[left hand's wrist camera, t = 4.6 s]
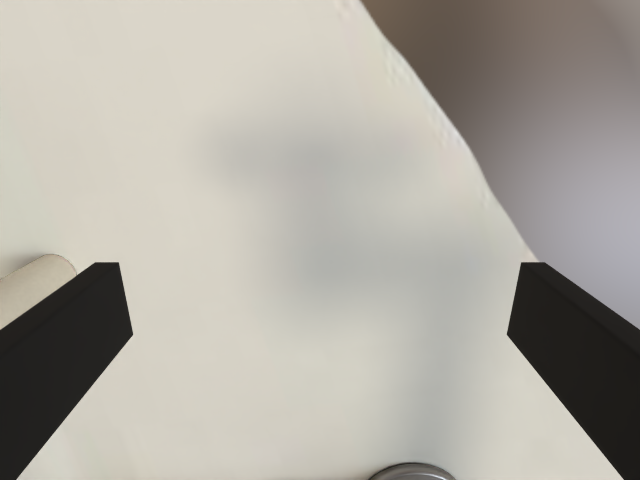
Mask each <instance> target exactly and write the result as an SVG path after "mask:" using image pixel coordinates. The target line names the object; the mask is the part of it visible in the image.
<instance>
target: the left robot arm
mask: <svg viewBox="0 0 640 480" xmlns="http://www.w3.org/2000/svg"><path fill="white" fill-rule="evenodd" d="M132 335H133V331H132V326H131V321H130V316H129V311H128V306H127V301H126V296H125V291H124V286H123V281H122V276H121V271H120V266H119V262H95V263H94V264H92V265H91V266H90V267H88V268H87V269H85V270H84V271H82V272H81V273H80V274H78V275H77V276H75V277H74V278H73V279H71V280H70V281H68V282H67V283H66V284H64V285H63V286H61V287H60V288H58V289H57V290H56V291H54V292H53V293H51V294H50V295H49V296H47V297H46V298H44V299H43V300H42V301H40V302H39V303H37V304H36V305H35V306H33V307H32V308H30V309H29V310H27V311H26V312H25V313H23V314H22V315H20V316H19V317H18V318H16V319H15V320H13V321H12V322H11V323H9V324H8V325H6V326H5V327H3V328H2V329H1V330H0V480H16V479H17V478H18V477H19V475H20V474H21V473H22V472H23V470H24V469H25V468H26V467H27V465H28V464H29V463H30V462H31V461H32V459H33V458H34V457H35V456H36V454H37V453H38V452H39V451H40V449H41V448H42V447H43V446H44V444H45V443H46V442H47V441H48V439H49V438H50V437H51V436H52V435H53V433H54V432H55V431H56V430H57V428H58V427H59V426H60V425H61V423H62V422H63V421H64V420H65V418H66V417H67V416H68V415H69V413H70V412H71V411H72V410H73V408H74V407H75V406H76V405H77V404H78V402H79V401H80V400H81V399H82V397H83V396H84V395H85V394H86V392H87V391H88V390H89V389H90V387H91V386H92V385H93V384H94V382H95V381H96V380H97V379H98V378H99V376H100V375H101V374H102V373H103V371H104V370H105V369H106V368H107V366H108V365H109V364H110V363H111V361H112V360H113V359H114V358H115V356H116V355H117V354H118V353H119V351H120V350H121V349H122V348H123V347H124V345H125V344H126V343H127V342H128V340H129V339H130V338H131V337H132ZM507 335H508V337H509V338H510V339H511V340H512V342H513V343H514V344H515V345H516V347H517V348H518V349H519V350H520V351H521V353H522V354H523V355H524V356H525V358H526V359H527V360H528V361H529V363H530V364H531V365H532V366H533V368H534V369H535V370H536V371H537V373H538V374H539V375H540V376H541V378H542V379H543V380H544V381H545V382H546V384H547V385H548V386H549V387H550V389H551V390H552V391H553V392H554V394H555V395H556V396H557V397H558V399H559V400H560V401H561V402H562V404H563V405H564V406H565V407H566V408H567V410H568V411H569V412H570V413H571V415H572V416H573V417H574V418H575V420H576V421H577V422H578V423H579V425H580V426H581V427H582V428H583V430H584V431H585V432H586V433H587V435H588V436H589V437H590V438H591V439H592V441H593V442H594V443H595V444H596V446H597V447H598V448H599V449H600V451H601V452H602V453H603V454H604V456H605V457H606V458H607V459H608V461H609V462H610V463H611V464H612V465H613V467H614V468H615V469H616V470H617V472H618V473H619V474H620V475H621V477H622V478H623V479H624V480H640V330H639V329H638V328H636V327H635V326H634V325H632V324H631V323H629V322H628V321H627V320H625V319H624V318H622V317H621V316H620V315H618V314H617V313H615V312H614V311H613V310H611V309H610V308H608V307H607V306H605V305H604V304H603V303H601V302H600V301H598V300H597V299H596V298H594V297H593V296H591V295H590V294H589V293H587V292H586V291H584V290H583V289H581V288H580V287H579V286H577V285H576V284H574V283H573V282H572V281H570V280H569V279H567V278H566V277H565V276H563V275H562V274H560V273H559V272H558V271H556V270H555V269H553V268H552V267H550V266H549V265H548V264H546V263H544V262H521V266H520V271H519V276H518V281H517V286H516V291H515V296H514V301H513V306H512V311H511V316H510V321H509V326H508V331H507ZM370 480H455V478H454V477H453V476H451V475H450V474H449V473H448V472H446V471H444V470H442V469H440V468H437V467H435V466H431V465H426V464H403V465H398V466H394V467H391V468H388V469H386V470H384V471H382V472H380V473H378V474H376V475H375V476H374V477H372V478H371V479H370Z"/></svg>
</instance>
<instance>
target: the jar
mask: <svg viewBox="0 0 640 480" xmlns="http://www.w3.org/2000/svg"><path fill="white" fill-rule="evenodd" d="M75 276H77V275H76V271H75V269H74V267H73V266H72V265H71V263H70V262H69V261H67V260H66V259H65V258H63V257H61V256H58V255H52V254H49V255H44V256H42V257H40V258H38V259H36V260H34V261H33V262H31V263H29V264H27V265H25V266H24V267H22V268H20V269H18V270H16V271H15V272H13V273H11V274H9V275H7V276H5V277H4V278H2V279H0V330H1V329H2V328H3V327H5V326H6V325H8V324H9V323H11V322H12V321H13V320H15V319H16V318H18V317H19V316H20V315H22V314H23V313H25V312H26V311H27V310H29V309H30V308H32V307H33V306H35V305H36V304H37V303H39V302H40V301H42V300H43V299H44V298H46V297H47V296H49V295H50V294H51V293H53V292H54V291H56V290H57V289H58V288H60V287H61V286H63V285H64V284H66V283H67V282H68V281H70V280H71V279H73V278H74V277H75Z"/></svg>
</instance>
